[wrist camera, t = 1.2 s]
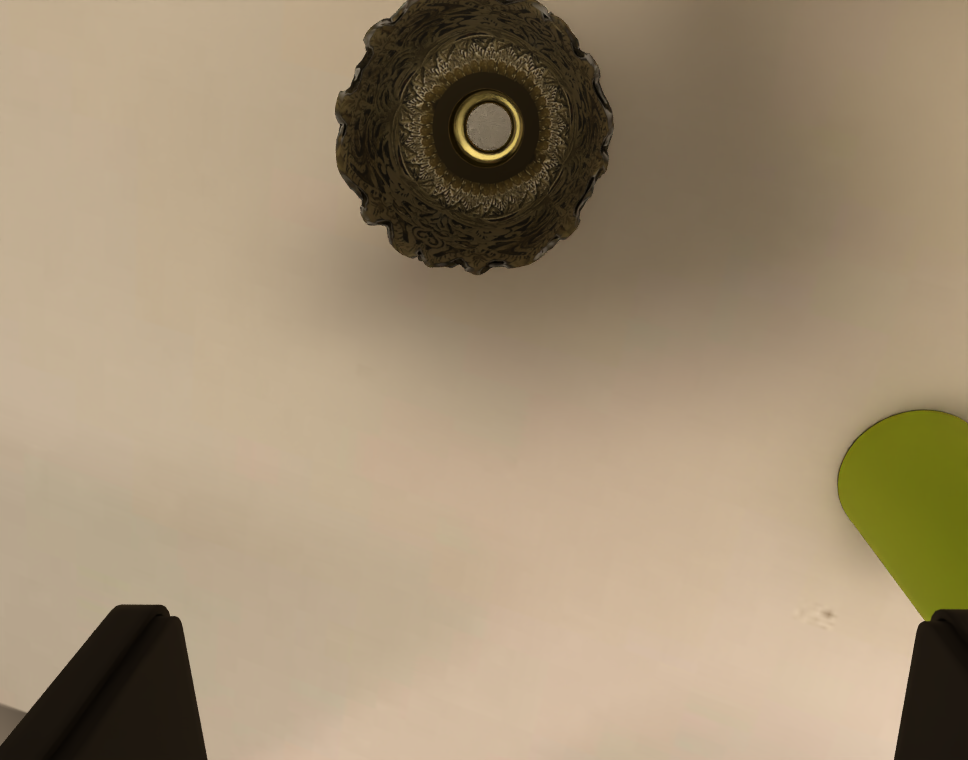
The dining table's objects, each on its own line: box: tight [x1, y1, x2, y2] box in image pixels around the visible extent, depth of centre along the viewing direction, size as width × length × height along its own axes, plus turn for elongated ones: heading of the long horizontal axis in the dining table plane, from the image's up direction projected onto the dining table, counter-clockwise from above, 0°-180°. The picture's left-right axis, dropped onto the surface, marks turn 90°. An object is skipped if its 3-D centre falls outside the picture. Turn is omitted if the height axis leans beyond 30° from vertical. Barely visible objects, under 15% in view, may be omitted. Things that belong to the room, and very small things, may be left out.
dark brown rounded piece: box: [335, 0, 614, 275], centre depth 25 cm, size 8×7×8 cm
